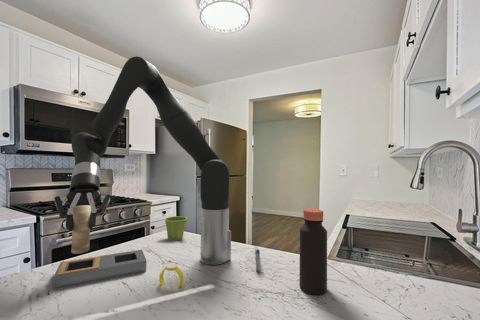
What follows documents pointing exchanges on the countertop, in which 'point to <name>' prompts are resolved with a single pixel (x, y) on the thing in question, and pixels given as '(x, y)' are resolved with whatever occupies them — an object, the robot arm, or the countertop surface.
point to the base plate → (98, 268)
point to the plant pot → (175, 227)
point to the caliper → (257, 258)
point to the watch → (171, 268)
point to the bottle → (313, 253)
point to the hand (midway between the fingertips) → (80, 228)
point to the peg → (81, 229)
